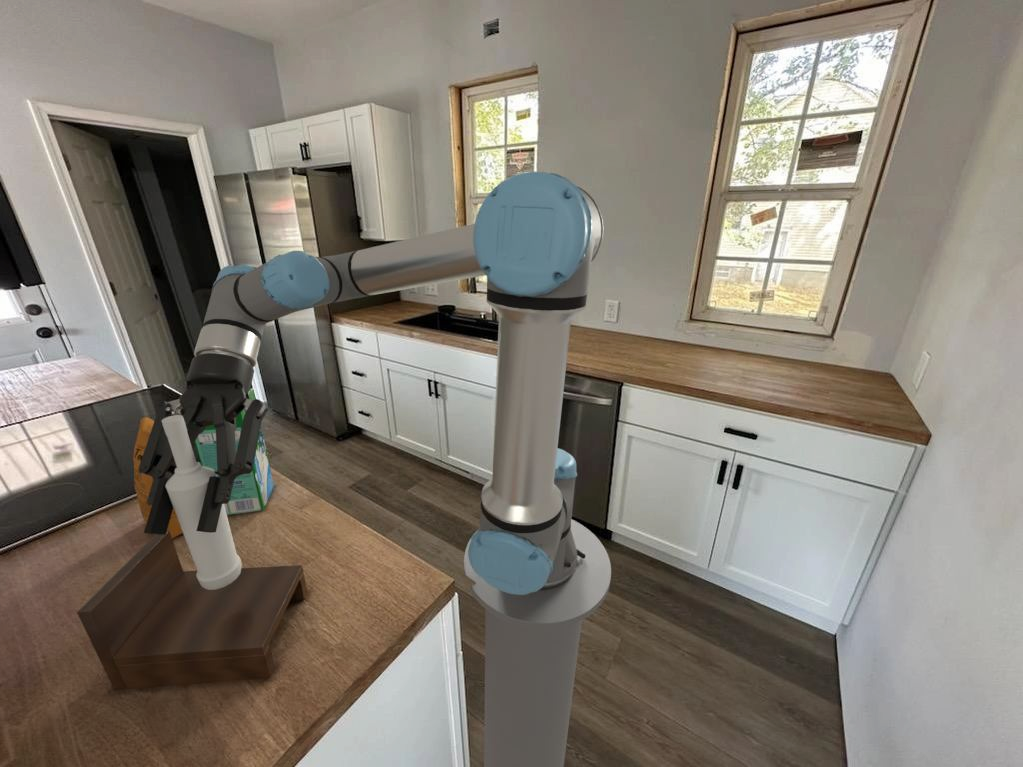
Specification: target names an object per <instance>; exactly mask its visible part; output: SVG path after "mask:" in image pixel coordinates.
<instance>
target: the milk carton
mask: <svg viewBox="0 0 1023 767" xmlns="http://www.w3.org/2000/svg"><path fill="white" fill-rule="evenodd" d="M248 395H249V398H250V399H251V400H255V399H256V396H255V391H254V388H253V387H251V388H250V390H249V392H248ZM244 415H245V409H244V410H243V411H242V412H241V413H239V414H238V415H237V416H236V431H235V441H236V453H237V448H238V443H239V438H240V433H241V428H242V423H243V419H244ZM193 423H194V422H193ZM194 424H195V423H194ZM194 446H195V450H196V454H197V457H198V461H199V463H200V464H201V466H204V467H208V468H212V469H214V470H215V471H216V472H217V448H216V428H215V426H214V425H210V426H206V428H205V430H204V431H203V432H202V433H200V434H199V435H198V437H197V439H196V441H195V442H194ZM216 475H217V474H216ZM217 477H219V475H217ZM274 487H275V484H274V480H273V476H272V470H271V466H270V461H269V456H268V452H267V448H266V443H265V437H264V434H263V429H262V426H261V427H260V433H259V438H258V444H257V449H256V455H255V460H254V465H253V470H252V472H251V473H249V474H243V475H240V476H238V477H236V478H235V480H234V483H233V488H232V492H231V497H230V500H229V502H228V504H224V506H225V510H226V514H227V516H229V515H230V516H231V515H238V514H246V513H252V512H261V511H264V509H265V508H266V505H267V502H268V500H269V498H270V496H271V494H272V492H273V490H274Z"/></svg>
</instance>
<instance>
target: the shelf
mask: <svg viewBox="0 0 1023 767" xmlns="http://www.w3.org/2000/svg"><path fill="white" fill-rule="evenodd" d="M178 555H179V554H178V551H177V549H176V546H175V543H174V540H173V539H172V537H171V534H170V531H167V532H166V534H163V535H158V534H155V535H153V536H152V537H151V538H150V539H149V541H147V542H146V543H145V544H144V545H143V546H142V547H141V548H140V549H139V550H138V551H137V552H136V553H135V554H134V555H133V556H132V557H131V558H130V559H129V560H127V562H126V563H125V564H124V565H122V567H121V568H120V569H119V570H118V571H117V572H115V574H114V575H112V577H111V578H110V579H109V580H107V582H106V583H105V584H104V585H103V586H102V587H100V589H99V590H98V591H96V593H95V594H93V596H92V597H91V598H90V599H88V600H87V601H86V602H85V604H84V605H82V607H81V608H80V609H79V610H78V611H77V612H76V613H77V615H78V618H79V620H80V622H81V624H82V626H83V628H84V630H85V633H86V634H87V637H88V639H89V641H90V643H91V646H92V647H93V649H94V651H95V653H96V655H97V657H98V659H99V662H100V664H101V666H102V668H103V670H104V672H105V675H106V676H107V678H108V680H109V683H110V684H111V686H112V688H113V690H114V691H121V690H133V689H145V688H156V687H157V688H158V687H170V686H183V685H195V684H196V685H197V684H198V685H199V684H209V683H210V684H211V683H222V682H235V681H247V680H249V681H250V680H257V679H258V680H261V679H270V678H271V677H272V676H273V673H274V670H275V668H276V664H275V661H274V657H273V654H272V650H271V646H270V643H271V642H272V640H273V638H274V636H275V633H276V632H277V629H278V627H279V625H280V622H281V620H282V619H283V616H284V615H285V612H286V610H287V608H288V606H289V603H290V602H291V601H292V602H294V601H305V600H306V597H307V595H308V589H307V588H308V587H307V582H306V579H305V573H304V567H303V565H302V564H298V565H296V564H295V565H281V566H280V565H278V566H259V567H241V573H240V575H239V576H238V577H237V579H235V580H234V581H233V582H232V583H230V584H229V585H227V586H225V587H223V588H219V589H216V590H208V589H205V588H203V587H202V586H201V585H200V583H199V581H198V579H197V576H196V574H197V570H183V566H182V563H181V561H180V558H179V556H178Z"/></svg>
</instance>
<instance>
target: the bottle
mask: <svg viewBox="0 0 1023 767" xmlns="http://www.w3.org/2000/svg"><path fill="white" fill-rule="evenodd" d="M162 424H163V427H164V430H165V433H166V436H167V438H168V441H169V444H170V447H171V450H172V453H173V456H174V460H175V463H176V466H177V468H176V469H175V471H174V472H175V474H174V475H173V476H172V477H171V478H170V479H169V480H168V481H167V483H166V485H165V486H166V489H167V492H168V494H169V497H170V500H171V502H172V505H173V507H174V510H175V513H176V515H177V518H178V521H179V523H180V526H181V529H182V531H183V533H182V534H183V537H184V540H185V542H186V545H187V548H188V550H189V552H190V555H191V557H192V560H193V563H194V566H195V569H196V571H197V574H196V576H197V579H198V581H199V583H200V585H201V586H202V587H203V588H205V589H208V590H216V589H219V588H223V587H225V586H227V585H229V584H230V583H232V582H233V581H234V580H235V579H237V577H238V576H239V575H240V573H241V568H243V567H242V565H243V564H242V563H243V562H242V559H241V557H240V556H239V554H237V550H236V546H235V542H234V538H233V534H232V530H231V526H230V523H229V519H228V515H227V514H226V510H225V506H224V504H222V507H221V512H220V516H219V520H218V525H217V529H216V532H212V533H209V532H201V531H197V527H198V523H199V518H200V514H201V510H202V506H203V502H204V498H205V494H206V490H207V486H208V482H209V478H210V477H213V476H216V477H217V475H216V474H215V472H214V471H215V470H214V469H212V468H208V467H204V466H201V464H200V461H197V459H196V456H195V452H194V450H193V446H191V443H190V439H189V436H188V433H187V428H186V424H185V421H184V418H183V414H181V415H174V416H169V417H166V418H164V419H163V420H162Z"/></svg>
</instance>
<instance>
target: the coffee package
mask: <svg viewBox="0 0 1023 767" xmlns="http://www.w3.org/2000/svg"><path fill="white" fill-rule="evenodd" d="M154 421H155V419H151V418H149V417H146V416H145V417H142V418H141V419H140V422H139V428H138V432H137V435H136V440H135V444H134V447H133V448H134V449H133V484H134V485H133V486H134V490H135V493H136V497H137V502H138V506H139V509H140V510H139V511H140V513H141V516H142V518H143V521H144V523H145V524H144V525H146V524H147V520H148V517H149V513H150V510H151V507H152V506H151V505H148V504H147V499H148V496H149V493H150V489H151V486H152V482H153V478H152V477H151V476H149V475H146V474H143V473H140V472H139V471H138V468H139V465H140V462H141V459H142V456H143V453H144V451H145V448H146V445H147V442H148V439H149V436H150V433H151V430H152V427H153V424H154ZM167 531H170V534H171V537H172V540H173V539H175V538H176V537H178V536H181V535H182V534H183V531H182V529H181V526H180V523H179V521H178V518H177V515H176V513H175V510H174V507H173V510H172V514H171V518H170V521H169V525H168V529H167ZM152 535H153V536H154V535H155V534H152Z"/></svg>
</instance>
